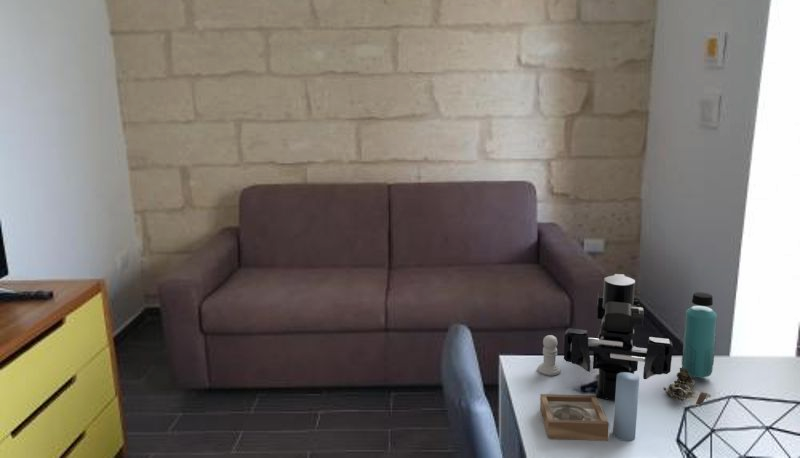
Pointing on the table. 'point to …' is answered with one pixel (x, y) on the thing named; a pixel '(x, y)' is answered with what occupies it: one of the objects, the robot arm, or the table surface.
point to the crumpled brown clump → (682, 389)
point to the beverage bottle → (699, 336)
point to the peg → (626, 406)
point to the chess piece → (549, 357)
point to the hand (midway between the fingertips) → (616, 373)
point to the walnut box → (573, 417)
